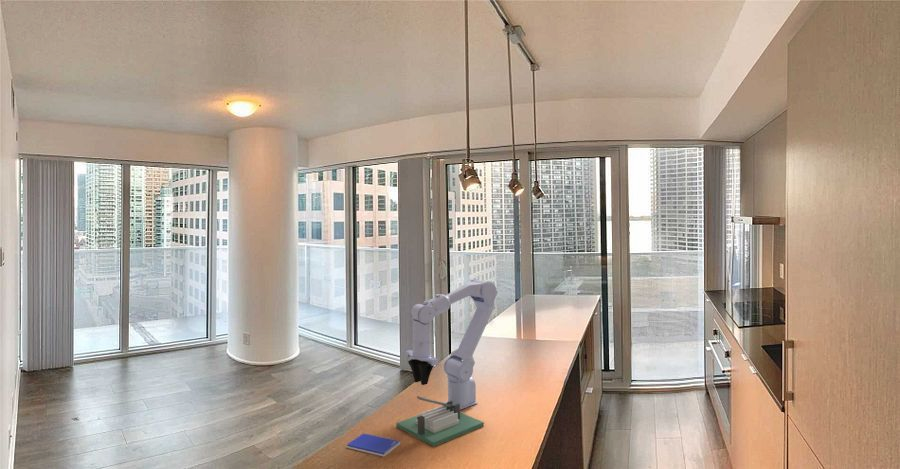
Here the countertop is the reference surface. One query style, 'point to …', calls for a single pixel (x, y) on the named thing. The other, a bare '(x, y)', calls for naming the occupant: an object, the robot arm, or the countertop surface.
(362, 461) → the countertop surface
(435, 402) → the long grey plank
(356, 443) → the hard drive
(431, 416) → the heatsink board
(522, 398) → the countertop surface
